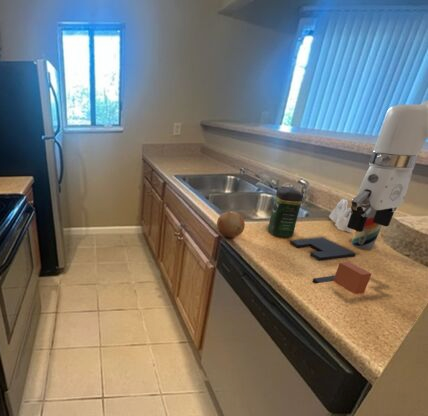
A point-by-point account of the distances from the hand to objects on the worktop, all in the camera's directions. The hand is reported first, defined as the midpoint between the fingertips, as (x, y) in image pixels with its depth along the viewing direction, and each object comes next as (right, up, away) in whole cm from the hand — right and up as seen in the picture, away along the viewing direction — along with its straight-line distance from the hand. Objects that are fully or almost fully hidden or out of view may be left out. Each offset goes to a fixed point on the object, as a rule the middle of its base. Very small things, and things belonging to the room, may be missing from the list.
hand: (367, 226), depth 70 cm
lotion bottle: (+24, -9, +27) cm, 38 cm away
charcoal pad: (+9, -10, +26) cm, 29 cm away
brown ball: (-19, -6, +36) cm, 42 cm away
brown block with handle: (+1, -18, +6) cm, 19 cm away
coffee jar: (+2, -5, +38) cm, 38 cm away
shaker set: (+30, -3, +44) cm, 53 cm away
